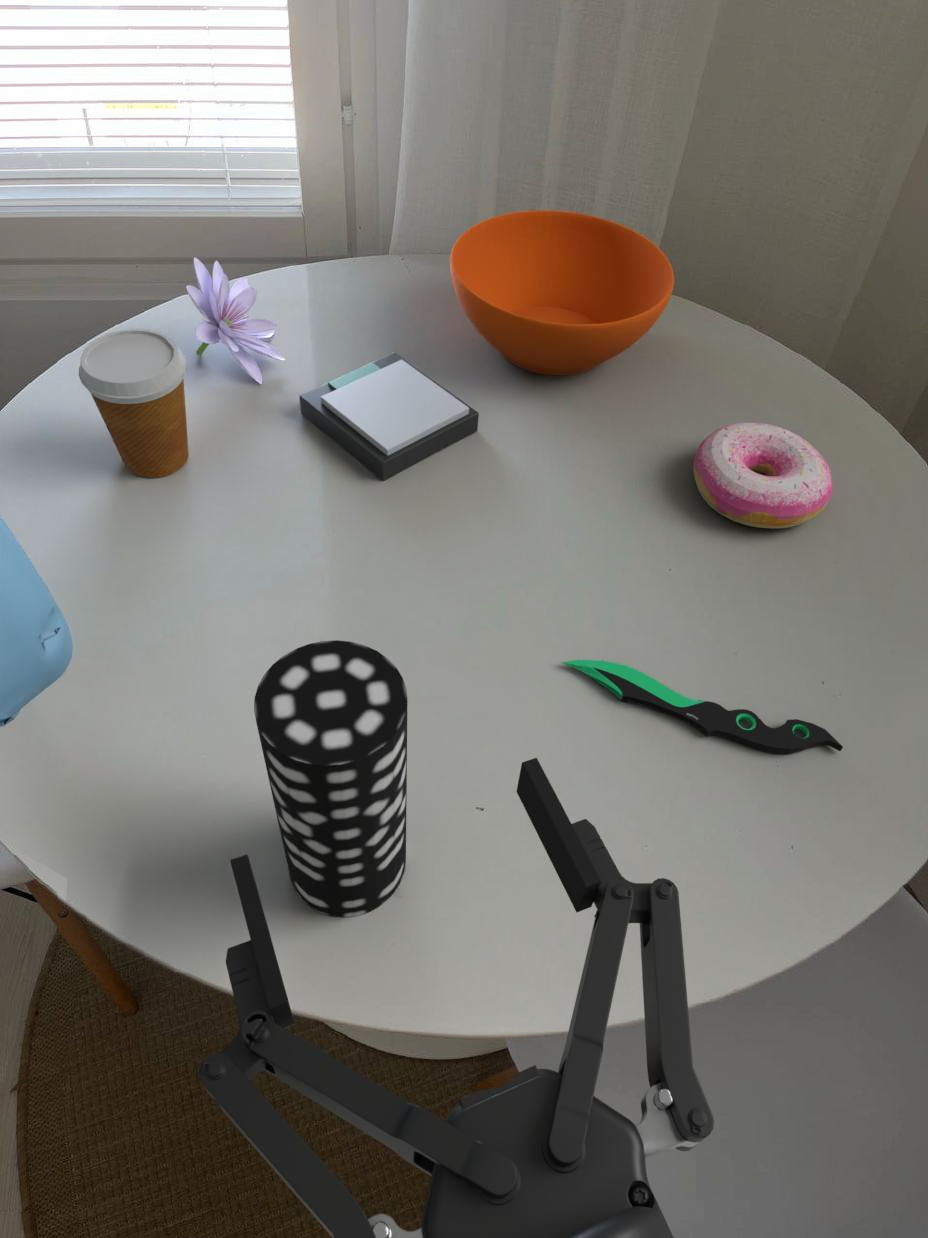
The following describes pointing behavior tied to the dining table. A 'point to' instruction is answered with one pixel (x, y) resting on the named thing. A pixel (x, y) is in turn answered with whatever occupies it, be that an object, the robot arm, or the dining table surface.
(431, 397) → the scale
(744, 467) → the donut
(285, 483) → the dining table surface
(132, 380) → the disposable coffee cup
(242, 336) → the water lily
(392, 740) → the white-spotted black cylinder
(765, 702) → the dining table surface
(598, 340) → the bowl
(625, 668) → the knife
